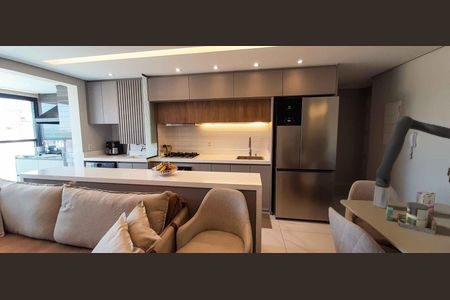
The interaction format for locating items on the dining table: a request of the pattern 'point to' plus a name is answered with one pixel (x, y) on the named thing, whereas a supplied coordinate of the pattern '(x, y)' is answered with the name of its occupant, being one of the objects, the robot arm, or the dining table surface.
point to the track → (416, 227)
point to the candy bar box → (426, 199)
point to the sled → (389, 214)
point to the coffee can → (417, 214)
